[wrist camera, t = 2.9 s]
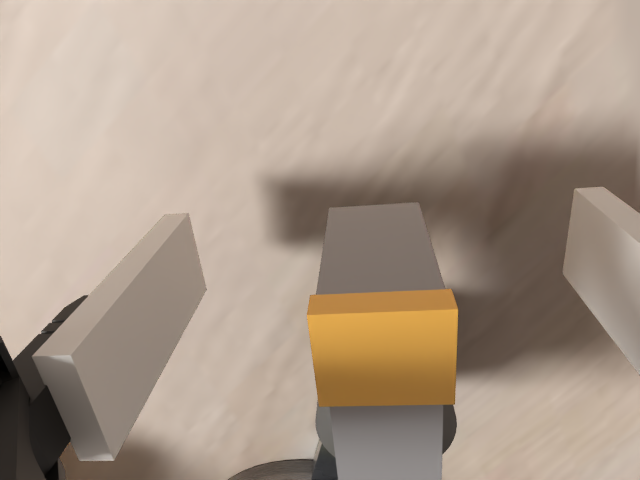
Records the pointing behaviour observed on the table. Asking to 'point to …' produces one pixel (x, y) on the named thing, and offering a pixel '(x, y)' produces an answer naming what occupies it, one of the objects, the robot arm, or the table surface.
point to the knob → (383, 345)
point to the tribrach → (295, 469)
